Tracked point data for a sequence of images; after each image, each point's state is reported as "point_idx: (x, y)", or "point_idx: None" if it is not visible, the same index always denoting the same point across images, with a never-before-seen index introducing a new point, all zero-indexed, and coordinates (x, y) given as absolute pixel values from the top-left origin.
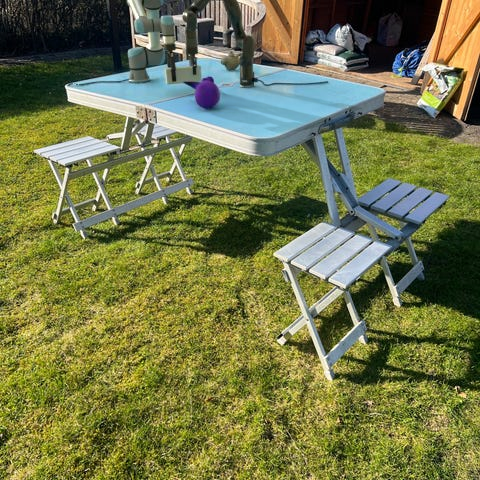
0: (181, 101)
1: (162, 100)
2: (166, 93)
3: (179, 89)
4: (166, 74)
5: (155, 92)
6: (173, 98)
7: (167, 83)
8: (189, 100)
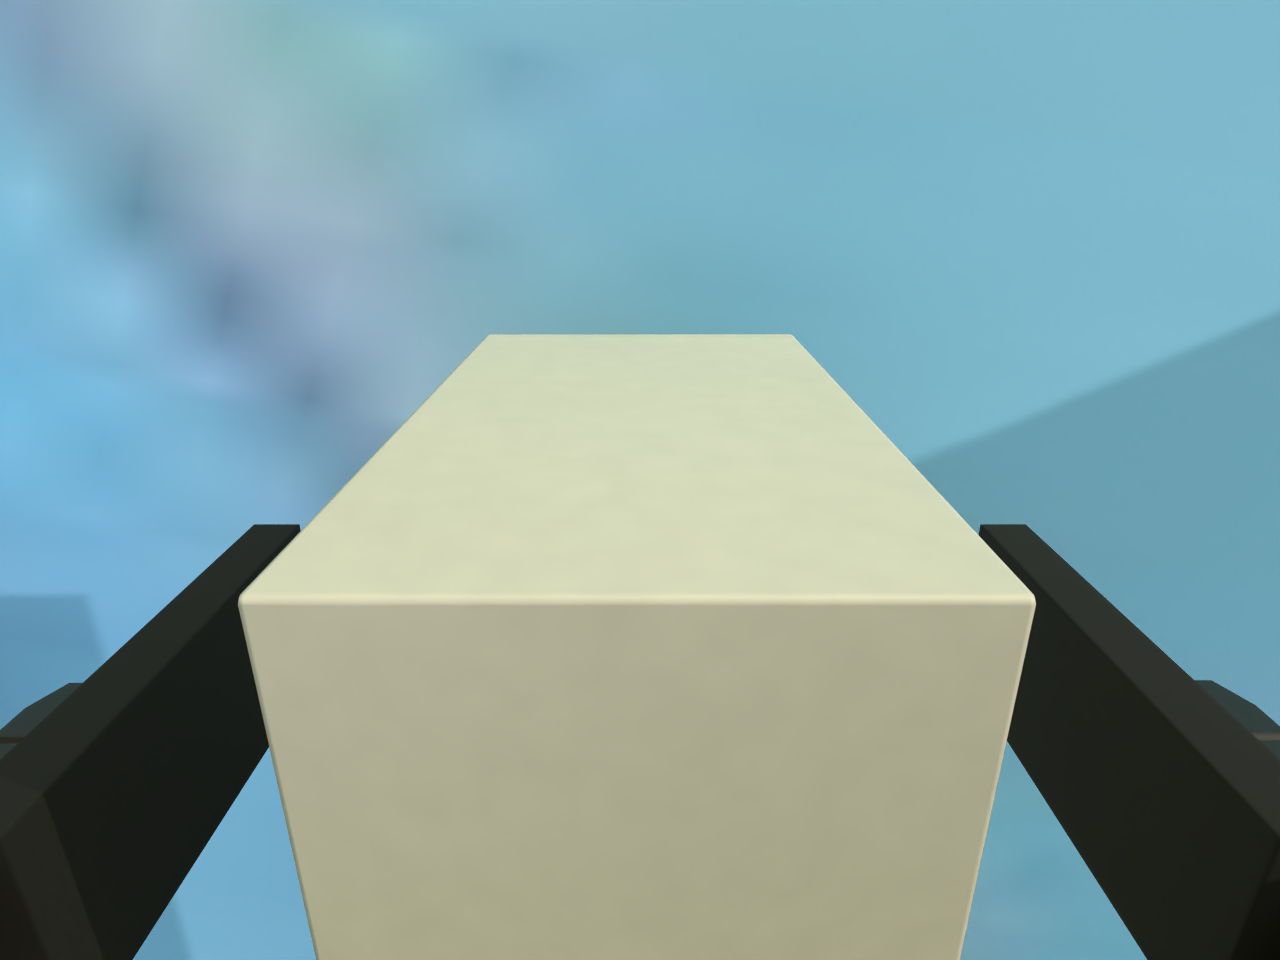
0: (31, 467)
1: (192, 58)
2: (930, 291)
3: (1164, 621)
4: (375, 456)
5: (1213, 15)
6: (349, 359)
7: (476, 349)
8: (101, 618)
